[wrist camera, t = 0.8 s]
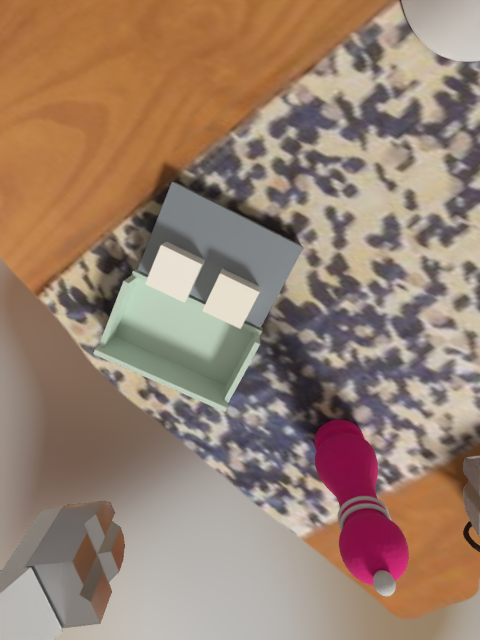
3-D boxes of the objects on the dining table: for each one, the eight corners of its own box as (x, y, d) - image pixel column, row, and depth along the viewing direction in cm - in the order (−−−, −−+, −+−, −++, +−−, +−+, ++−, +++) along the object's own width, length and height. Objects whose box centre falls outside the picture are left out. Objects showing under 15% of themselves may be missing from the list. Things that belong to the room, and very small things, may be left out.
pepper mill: (302, 426, 49) (330, 574, 30) (356, 407, 48) (419, 551, 29) (321, 468, 51) (358, 631, 32) (373, 451, 50) (443, 612, 31)
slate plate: (176, 182, 40) (172, 181, 38) (301, 245, 41) (303, 247, 39) (142, 266, 43) (137, 269, 41) (260, 321, 45) (260, 327, 43)
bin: (137, 268, 43) (122, 277, 38) (262, 327, 45) (262, 343, 40) (110, 337, 46) (93, 354, 41) (228, 389, 48) (224, 411, 43)
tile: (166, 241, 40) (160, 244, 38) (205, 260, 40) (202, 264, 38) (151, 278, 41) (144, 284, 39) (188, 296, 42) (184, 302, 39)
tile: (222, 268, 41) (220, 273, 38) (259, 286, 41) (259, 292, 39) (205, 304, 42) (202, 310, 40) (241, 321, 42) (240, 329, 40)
